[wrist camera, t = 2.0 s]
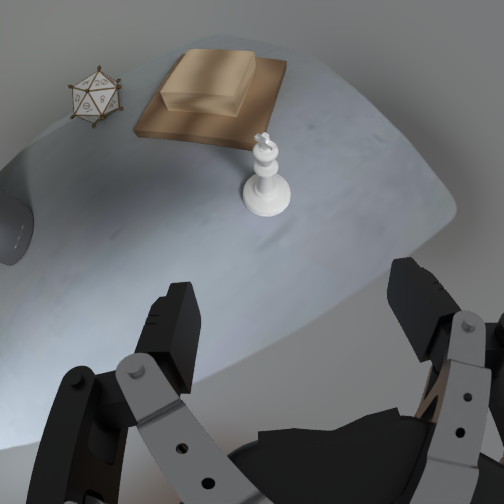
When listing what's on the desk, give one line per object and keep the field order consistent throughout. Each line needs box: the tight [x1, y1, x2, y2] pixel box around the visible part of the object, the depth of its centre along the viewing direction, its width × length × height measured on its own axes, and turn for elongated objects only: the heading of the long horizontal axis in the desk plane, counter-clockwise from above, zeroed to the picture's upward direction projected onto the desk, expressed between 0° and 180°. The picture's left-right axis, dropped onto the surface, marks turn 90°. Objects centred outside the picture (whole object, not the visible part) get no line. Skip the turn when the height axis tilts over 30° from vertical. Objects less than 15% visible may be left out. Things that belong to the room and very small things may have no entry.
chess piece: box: [243, 132, 291, 217], centre depth 24 cm, size 5×5×10 cm
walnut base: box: [134, 49, 287, 151], centre depth 31 cm, size 16×16×5 cm
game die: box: [68, 65, 124, 128], centre depth 30 cm, size 9×8×10 cm
